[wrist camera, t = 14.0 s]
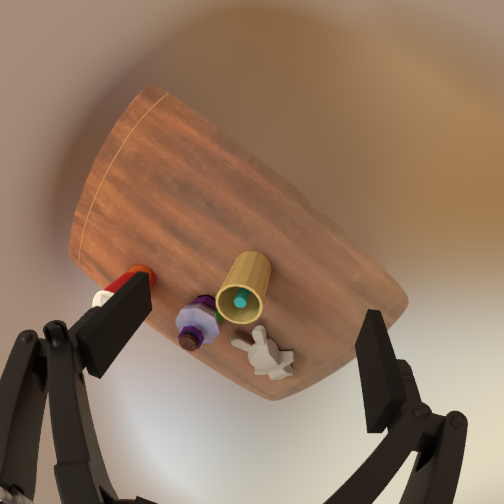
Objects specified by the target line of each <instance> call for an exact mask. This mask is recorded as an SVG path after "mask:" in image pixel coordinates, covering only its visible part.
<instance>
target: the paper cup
mask: <svg viewBox="0 0 504 504" xmlns="http://www.w3.org/2000/svg"><path fill="white" fill-rule="evenodd" d="M137 271H142V272H147V273H149V280H150V290H151V288H152V287H153V285H154V283H155V277H154V274H153V272H152V271H151V270H150V269H149V268H148V267H147V266H145V265H136V266H134V267H133V268H131V269H130V270H129V271H127V272H126V273H125V274H123V275H122V276H121V277H119V278H118V279H117V280H116V281H114V282H113V283H112V284H110V285H109V286H108V287H107V288H105V289H104V290H103V291H99V292H97V293H96V295H95V297H94V300H93V303H92V308H93V307H95V306H100V307H101V306H102V305H103V304H104V303H105V302H106V301H107V300H108V299H109V298H110V297H111V296H113V295H114V294H115V293H116V292H117V291H118V290H119V289H120V288H121V287H122V286H123V285H124V284H125V283H126V282H127V281H128V280H129V279H130V278H131V277H132V276H133V275H134V274H135V273H136V272H137Z"/></svg>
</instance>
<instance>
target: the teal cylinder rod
mask: <svg viewBox="0 0 504 504" xmlns="http://www.w3.org/2000/svg"><path fill="white" fill-rule="evenodd" d="M249 295H250V290H248V289H246V288H244V287H240V288H239V290H238V293H237V295H236V298H235V300H234V304H235V305H236V306H237V307H239V308H243V307H245V306H246V304H247V301H248V298H249Z"/></svg>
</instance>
